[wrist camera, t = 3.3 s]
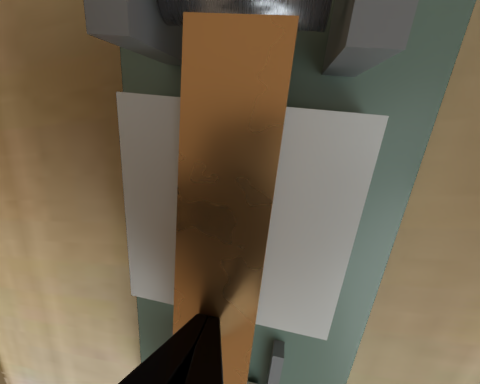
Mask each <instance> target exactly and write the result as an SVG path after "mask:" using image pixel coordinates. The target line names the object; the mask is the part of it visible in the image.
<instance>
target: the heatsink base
mask: <svg viewBox="0 0 480 384" xmlns="http://www.w3.org/2000/svg"><path fill="white" fill-rule="evenodd" d="M475 2H476V0H332V4H331V9H330V14H329V18H328V22H327V26H326V29H325V32H315V31H297V38H296V45H295V52H294V59H293V66H292V73H291V80H290V87H289V94H288V101H287V108H286V115H285V122H284V129H283V136H282V143H281V150H280V157H279V164H278V171H277V178H276V185H275V192H274V199H273V206H272V213H271V220H270V227H269V234H268V241H267V248H266V255H265V262H264V269H263V276H262V283H261V290H260V297H259V304H258V311H257V318H256V325H255V332H254V339H253V346H252V353H251V360H250V367H249V374H248V381H249V382H252V383H256V384H346V383H347V380H348V377H349V374H350V371H351V368H352V365H353V362H354V359H355V356H356V353H357V350H358V347H359V344H360V341H361V338H362V335H363V333H364V330H365V327H366V324H367V321H368V318H369V315H370V312H371V309H372V306H373V303H374V300H375V297H376V294H377V291H378V288H379V285H380V282H381V279H382V276H383V273H384V271H385V268H386V265H387V262H388V259H389V256H390V253H391V250H392V247H393V244H394V241H395V238H396V235H397V232H398V229H399V226H400V223H401V220H402V217H403V214H404V212H405V209H406V206H407V203H408V200H409V197H410V194H411V191H412V188H413V185H414V182H415V179H416V176H417V173H418V170H419V167H420V164H421V161H422V158H423V155H424V153H425V150H426V147H427V144H428V141H429V138H430V135H431V132H432V129H433V126H434V123H435V120H436V117H437V114H438V111H439V108H440V105H441V102H442V99H443V96H444V94H445V91H446V88H447V85H448V82H449V79H450V76H451V73H452V70H453V67H454V64H455V61H456V58H457V55H458V52H459V49H460V46H461V43H462V40H463V37H464V35H465V32H466V29H467V26H468V23H469V20H470V17H471V14H472V11H473V8H474V5H475ZM84 10H85V19H86V29H87V34H89V35H91V36H94V37H96V38H99V39H102V40H104V41H107V42H110V43H112V44H115V45H117V46H120V54H121V69H122V84H123V92H116V98H117V111H118V124H119V138H120V151H121V164H122V177H123V190H124V204H125V217H126V230H127V243H128V257H129V270H130V283H131V295H133V296H137V308H138V323H139V338H140V353H141V363H142V362H143V361H144V360H145V359H147V358H148V357H149V356H150V355H151V354H152V353H153V352H154V351H156V350H157V349H158V348H159V347H160V346H161V345H162V344H163V343H165V342H166V341H167V340H168V339H169V338H170V337H171V336H172V335H173V310H174V280H175V249H176V219H177V188H178V158H179V127H180V97H181V66H182V36H183V26H168V25H166V24H165V23H164V22H163V20H162V18H161V16H160V14H159V11H158V7H157V3H156V0H84Z"/></svg>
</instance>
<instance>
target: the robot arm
mask: <svg viewBox="0 0 480 384" xmlns="http://www.w3.org/2000/svg"><path fill="white" fill-rule="evenodd" d="M118 384H224V382H223V364H222V345H221V326H220V318H218V317H213V316H209V317H208V316H207V315H204V314H200V313H198V314H196V315H195V316H194V317H193V318H192V319H190V320H189V321H188V322H187V323H186V324H185V325H184V326H183V327H181V328H180V329H179V330H178V331H177V332H176V333H175V334H174V335H172V336H171V337H170V338H169V339H168V340H167V341H166V342H165V343H163V344H162V345H161V346H160V347H159V348H158V349H157V350H156V351H154V352H153V353H152V354H151V355H150V356H149V357H148V358H147V359H145V360H144V361H143V362H142V363H141V364H140V365H139V366H138V367H136V368H135V369H134V370H133V371H132V372H131V373H130V374H129V375H127V376H126V377H125V378H124V379H123V380H122V381H121V382H120V383H118Z"/></svg>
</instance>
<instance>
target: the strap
mask: <svg viewBox="0 0 480 384" xmlns="http://www.w3.org/2000/svg"><path fill="white" fill-rule="evenodd" d="M156 3H157V7H158V11H159V14H160V16H161V18H162V20H163V22H164V23H165V24H166V25H168V26H183V36H182V66H181V97H180V127H179V158H178V188H177V219H176V249H175V280H174V310H173V335H174V334H175V333H176V332H177V331H178V330H179V329H180V328H181V327H183V326H184V325H185V324H186V323H187V322H188V321H189V320H190V319H192V318H193V317H194V316H195V315H196V314H198V313H200V314H204V315H207V316H208V317H209V316H213V317H218V318H220V326H221V345H222V364H223V382H224V384H247V381H248V374H249V367H250V360H251V353H252V346H253V339H254V332H255V325H256V318H257V311H258V304H259V297H260V290H261V283H262V276H263V269H264V262H265V255H266V248H267V241H268V234H269V227H270V220H271V213H272V206H273V199H274V192H275V185H276V178H277V171H278V164H279V157H280V150H281V143H282V136H283V129H284V122H285V115H286V108H287V101H288V94H289V87H290V80H291V73H292V66H293V59H294V52H295V45H296V38H297V31H315V32H325V29H326V26H327V22H328V18H329V14H330V9H331V4H332V0H156Z"/></svg>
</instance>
